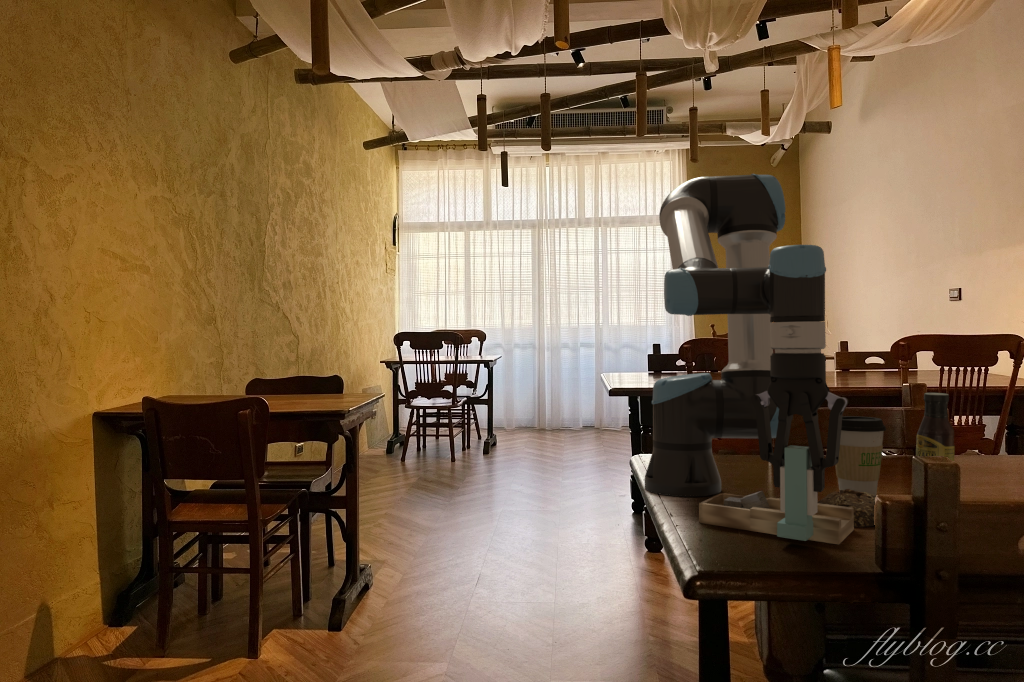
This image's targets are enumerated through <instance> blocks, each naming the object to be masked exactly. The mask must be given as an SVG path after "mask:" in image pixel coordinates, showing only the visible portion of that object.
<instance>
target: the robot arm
mask: <svg viewBox="0 0 1024 682" xmlns="http://www.w3.org/2000/svg"><path fill="white" fill-rule="evenodd" d="M659 209H660V210H659V215H658V216H659V225H660V229H661V231H662V232H663V234H664V235H665V236H666V237H667V243H668V250H669V254H670V260H671V268H672V269H669V270H667V271H666V272H665V274H664V279H663V281H664V282H663V299H664V309H665V311H666V312H667V313H668V314H669V315H679V316H680V315H681V316H687V317H692V316H705V315H710V316H711V315H713V316H714V315H726V316H727V344H728V345H727V347H728V348H727V349H728V350H727V351H728V352H727V353H728V362H727V365H725V366H724V367H723V369H722V370H720V371H721V372H720V377H721V378H720V379H713V376H712V374H711V373H709V372H701V373H689V374H688V373H687V374H681V375H680V374H679V375H674V376H669V377H663V378H660V379H658V380H656V381H655V382H654V384H653V387H652V400H651V405H652V452H651V457H650V459H649V463H648V465H647V469H646V471H645V475H644V489H645V490H646V491H648V492H651V493H653V494H658V495H665V496H671V497H688V498H689V497H691V498H692V497H694V498H695V497H706V496H715V495H718V494H720V493H722V478H721V474H720V472H719V470H718V466H717V464H716V460H715V458H714V455H713V448H712V447H713V445H712V444H713V443H712V442H713V439H716V438H717V439H718V438H719V439H757V440H758V449H759V457H760V460H762V461H766V462H768V463H769V464H771V465H772V467H773V468H772V469H773V485H774V487H775V488H779V490H780V493H779V495H780V497H779V498H780V511H781V512H785V447H788V446H789V440H790V434H791V428H792V427H791V426H792V421H793V419H794V415H798V416H802V419H803V420H802V421H803V423H804V425H805V432H806V438H807V444H808V447H809V450H810V456H811V462H812V467H811V468H809V469H807V515H810V516H813V515H814V514H816V513H817V512H818V507H817V503H818V493H822V492H823V491H824V489H825V482H826V481H825V479H826V478H825V476H826V475H825V470H826V469H827V468H831V467H832V468H833V467H834V466H835V465H836V464H837V463H838V461H839V450H840V438H841V427H842V416H844V415H843V414H844V412H845V409H846V408H847V406H848V404H849V399H848V398H847V397H845V396H842V397H841V396H839V395H836V394H835V393H832V392H831V390H830V388H829V386H828V385H827V375H826V373H827V372H826V370H827V368H826V367H827V366H826V365H827V363H826V360H827V359H826V358H827V357H826V355H825V353H822V350H824V349H826V347H827V344H826V272H827V267H826V263H825V262H826V261H825V251H824V249H823V248H822V247H821V246H820V245H819V246H818V245H816V244H815V245H814V244H793V245H792V244H791V245H790V244H789V245H783V246H777V247H774V248H773V249H772V250H770V246H771V245H772V243H774V241H775V240H777V238H778V235H777V234H778V232H779V231H782V230H783V229H784V226H785V224H786V223H785V222H786V201H785V195H784V190H783V188H782V185H781V183H780V181H779V179H777V177H776V176H774V175H771V174H757V173H756V174H755V173H751V174H741V175H740V174H737V175H719V176H718V175H715V176H700V177H695V178H691V179H689V180H686V181H684V182H682V183H681V184H679V185H678V186H677V187H675V188H674V189H673V190H672V191H670V193H669V194H668V195H667V196H666V197H665V199H664V201H663V202H662V204H661V206H660V208H659ZM710 234H717V243H718V244H719V245H720V246H721V247H722V248H724V250H725V267H721V268H720V267H719V265H718V261H717V259H716V255H715V252H714V248H713V245H712V242H711V241H712V240H711V237H710ZM825 401H827V407H828V409H829V410H830V411H829V415H828V416H829V417H828V425H827V426H828V427H827V440H826V450H825V452H826V453H824V448H823V443H822V436H821V429H820V425H819V413H818V410H819V409H820V408H821V406H823V404H824V402H825ZM772 439H775V440H774V441H775V442H774V448H773V440H772ZM824 454H825V455H824Z"/></svg>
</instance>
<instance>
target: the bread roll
mask: <svg viewBox="0 0 1024 682" xmlns="http://www.w3.org/2000/svg"><path fill="white" fill-rule="evenodd" d="M875 497H877V495H876V496H875V495H873V494H869V493H867V492H859V491H855V490H851V489H846V490H840V491H835V490H834V491H833V492H832V491H831V492H830V493H829V494H827V495H826V496H825V497H823V498H822V499H819V500H817V503H820V504H828V505H836V506H844V507H852V508H854V528H871V527H875V526H874V505H875Z"/></svg>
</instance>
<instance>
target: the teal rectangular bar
mask: <svg viewBox="0 0 1024 682" xmlns="http://www.w3.org/2000/svg"><path fill="white" fill-rule="evenodd" d="M811 467H812V462H811V456H810V450H809V446H806V445H805V446H803V445H788V447H785V518H783V519H782V520H781V521H779V522H778V523H777V535H776V537H778V538H785V539H791V540H798V541H802V542H803V541H804V542H806V541H809V540H808V539H809V538H810V537H811V536H812V535H813V521H812V516H810V515H807V469H809V468H811Z"/></svg>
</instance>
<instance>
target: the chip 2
mask: <svg viewBox="0 0 1024 682" xmlns="http://www.w3.org/2000/svg"><path fill="white" fill-rule="evenodd" d="M744 496H745V497H743V498H741V499H740V500H741V502H742V505H743V507H744V509H750V508H752V507H758V508H766V509H770V506H769V504H768V502H767V499H768V498H767V497H766V495H765V493H764V490H760V491H757V492H754V493H751V494H748V495H744Z"/></svg>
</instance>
